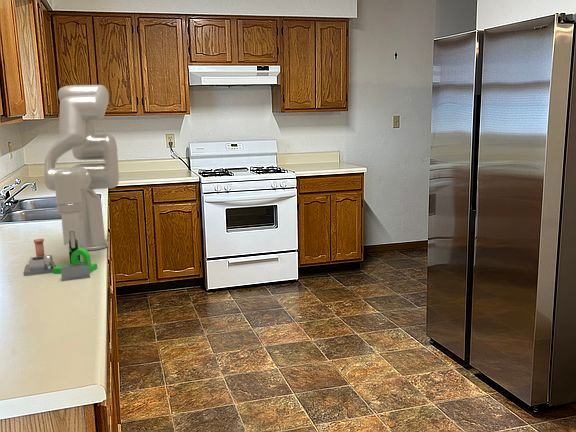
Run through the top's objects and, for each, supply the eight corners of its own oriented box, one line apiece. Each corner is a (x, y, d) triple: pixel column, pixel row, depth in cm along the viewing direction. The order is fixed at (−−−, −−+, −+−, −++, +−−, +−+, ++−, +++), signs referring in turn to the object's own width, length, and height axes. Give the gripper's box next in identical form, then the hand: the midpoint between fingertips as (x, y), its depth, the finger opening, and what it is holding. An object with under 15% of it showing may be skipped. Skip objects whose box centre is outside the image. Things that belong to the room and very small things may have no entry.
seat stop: (62, 278, 177) (60, 265, 176) (89, 274, 179) (88, 262, 179) (62, 280, 174) (60, 268, 173) (89, 277, 177) (88, 264, 176)
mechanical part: (97, 269, 187) (95, 245, 185) (89, 274, 181) (86, 249, 179) (62, 269, 188) (60, 245, 187) (53, 274, 182) (50, 250, 181)
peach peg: (36, 263, 195) (33, 239, 194) (46, 262, 196) (44, 238, 195) (36, 266, 192) (33, 241, 191) (46, 265, 193) (43, 240, 192)
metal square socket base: (26, 268, 190) (24, 253, 189) (55, 264, 193) (53, 249, 192) (23, 275, 181) (21, 260, 180) (54, 272, 184) (52, 256, 183)
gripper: (58, 206, 191) (63, 259, 195) (56, 213, 177) (62, 270, 181) (81, 204, 194) (87, 256, 197) (82, 210, 180) (87, 267, 183)
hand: (75, 263), depth 189 cm, fingers closed
